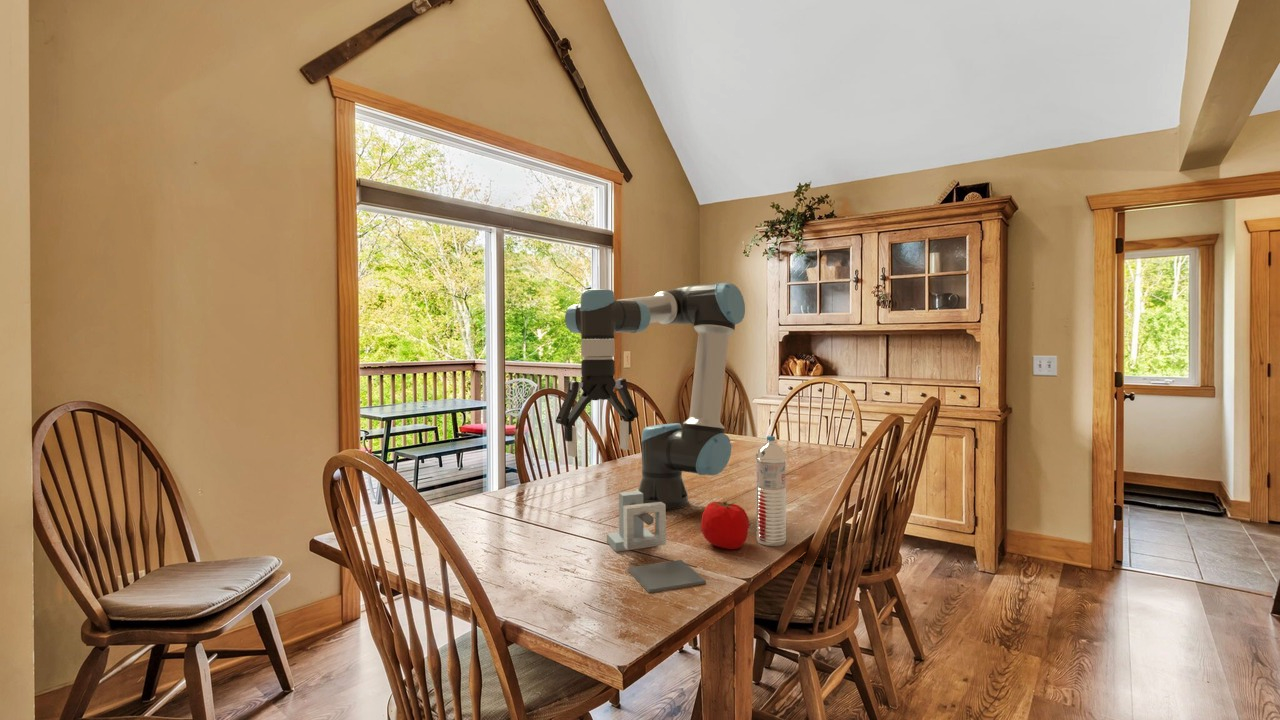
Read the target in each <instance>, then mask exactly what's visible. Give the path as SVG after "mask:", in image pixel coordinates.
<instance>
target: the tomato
mask: <svg viewBox="0 0 1280 720" xmlns="http://www.w3.org/2000/svg"><path fill="white" fill-rule="evenodd" d="M736 503H737V501H735V502H732V503H728V502H727V501H712V502H710V503H707V506H706V507H705V508H704V511H703V512H702V516H701V521H700V528H701V533H702V536H703V537H704V538H705V540H706V541H707V542H708V543H710V544H711V545H713V546H716V547H718V548H722V549H725V550H738V549H739V548H741V547H743V546H744V544H745V542H747V537H748V532H749V529H750V521H749V516H748V514H747V512H746V511H745V509H744V508H742V507H741V506H740V505H738V504H736Z"/></svg>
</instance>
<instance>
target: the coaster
mask: <svg viewBox="0 0 1280 720" xmlns="http://www.w3.org/2000/svg"><path fill="white" fill-rule="evenodd" d="M627 570H628V572H629V573H630V575H632V576H633V578H635V580H637V582H638V583H639V584H640V585H641V587H643V588H644V589H645V590H646V592H647V593H648V594H649V593H650V594H651V593H656V592H663V591H669V590H675V589H679V588H688V587H693V586H699V584H700V585H704V584H707V581H706V579H705V578H703V577H702V576H701V575H700V574H699V573H698V572H696V571H695V570H694V569H693V568H691V566H689V565H688V564H686V563H685V562H684V560H682V559H677V560H671V561H670V560H669V561H663V562H656V563H649V564H642V565H636V566H628V567H627Z"/></svg>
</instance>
